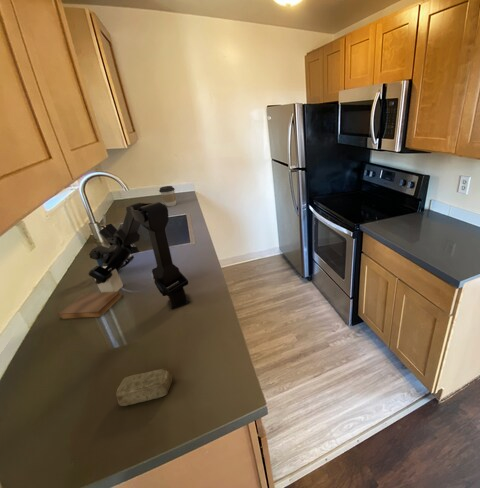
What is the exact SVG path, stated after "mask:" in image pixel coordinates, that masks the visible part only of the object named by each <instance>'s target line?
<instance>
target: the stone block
mask: <svg viewBox="0 0 480 488" xmlns="http://www.w3.org/2000/svg"><path fill="white" fill-rule="evenodd" d="M171 373H172V372H171V371H170V370H169V369H168V368H164V367H163V368H159V369H153V370H150V371H146V372H142V373H134V374H131V375H127V376H125V377H124V378H123V379H122V380H121V382H120V384H119V386H118V387H117V390H116V392H115V396H116V399H117V403H118V406H120V407H126V406H130V405H135V404H139V403H143V402H149V401H152V400H156V399H160V398H162V397H164V396H166V395H168V393H169V390H170V387H171V386H172V382H173V375H172V374H171Z"/></svg>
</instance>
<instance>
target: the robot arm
mask: <svg viewBox="0 0 480 488" xmlns="http://www.w3.org/2000/svg"><path fill="white" fill-rule="evenodd" d="M125 211H126V213H125V216H124V219H123V222H122V226H121V227H120V228H117V226H115V225H114V224H113V223H108V224H105V226H104V227H103V228H101V230H100V231H98V233H99V235H100V236H101V237H102V238H103V239H104V240H105V241H106V242H107V243H108V244H109V246H114V248H113V249H112V248H110V247H107V246H103V245H97V246H95V247H94V248H92V249H91V251H89V253H88V256H89V258H90V260H91V259H92V260H95V261H96V260H98V259H100V260H103V261H102V262H103V263H104V264H105V263H106V265H107V267H106V268H103V267H102V266H99V265H96V266H95V267H93V268H92V269H90V271H88V276H89V277H91V278H93V279H94V278H95V279H96V281H95V284H96V285H97V284H100V283H105V282H106V281H107V280H109V279H110V278H111V277H112V273H111V272H112V271H113V270H114V269H116V270H117V271H118V270H119V269H120V270H121V269H123V268H125V267H126V266H127V265H129V264H130V263H131V262H132V261H133V260H134V259H135V257H134V254H138V253H139V252H140V250H139V248H138V245H135V244H136V243H138V242H140V238H141V233H140V232H139V229H140V227H141V226H142V227H144V228H145V229H146V230H147V231H148V235H149V238H150V243H151V246H152V251H153V255H154V259H155V264H156V267H154V268H152V269H151V273H152V276H153V279H154V285H155V286H156V288H157V290H158V291H159V294H161V295H162V297H168V303H169V306H170V309H171V310H174V309H177V308H180V307H182V306H184V305H187V304H190V303H191V301H190V299H189V297H188V295H187V293H186V291H185V288H184V287H186V286H188V285H189V280H188V279H187V278H186V276H185V275H184V274H183V273H182V272H181V271H180V268H179V267H178V266H176V265H175V264H174V263H173V259H172V254H171V249H170V244H169V239H168V235H167V230H166V228H167V226H168V224H169V221H170V219H169V209H168V206H167V205H166V204H165V203H164V204H163V202H159V201H156V202H136V203H132V204H130V205H128V206H126V207H125ZM108 270H109V271H108ZM95 279H94V280H95Z"/></svg>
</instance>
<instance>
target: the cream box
mask: <svg viewBox="0 0 480 488" xmlns="http://www.w3.org/2000/svg"><path fill="white" fill-rule="evenodd" d="M106 267H107V266H105V267H103V268H106ZM108 271H109V270H108ZM111 273H112V277H111V278H110V279H109V280H107V281H106V282H105V283H100V284H97V283H96V285H97V287H98V290H99V292H100V293H102V292H119V291H120V290H121V289H122V288H123V287H124V284H123V282H122V279H121V277H120V275H119V273H118V272H117V270H116V269H114V270H113V271H112V272H111ZM93 279H94V281H95V282H96V279H95V278H93Z"/></svg>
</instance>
